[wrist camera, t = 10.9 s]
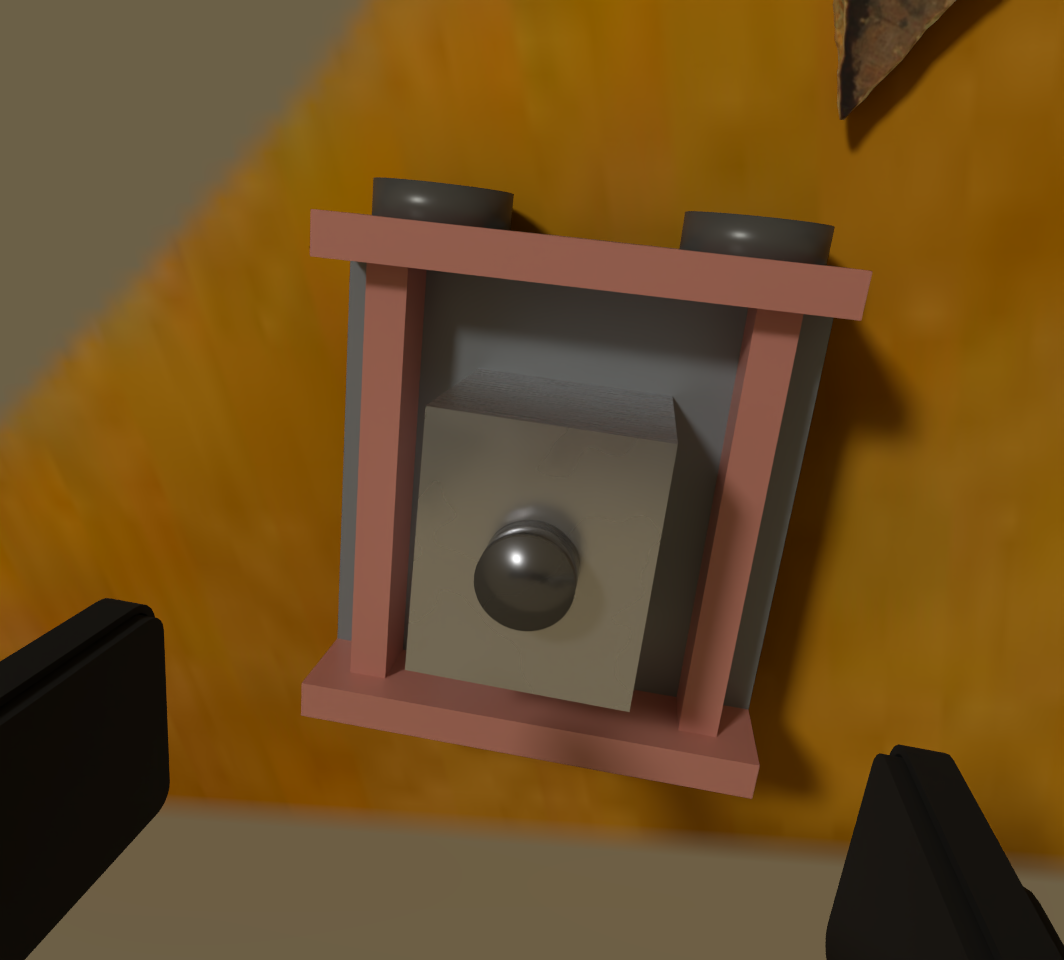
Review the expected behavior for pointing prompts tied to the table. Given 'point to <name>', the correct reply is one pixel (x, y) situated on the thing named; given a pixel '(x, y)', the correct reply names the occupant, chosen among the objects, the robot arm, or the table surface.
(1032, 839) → the table surface
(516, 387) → the cube with metal knob
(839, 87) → the shard
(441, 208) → the chassis
